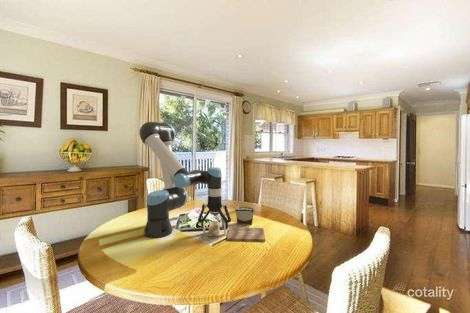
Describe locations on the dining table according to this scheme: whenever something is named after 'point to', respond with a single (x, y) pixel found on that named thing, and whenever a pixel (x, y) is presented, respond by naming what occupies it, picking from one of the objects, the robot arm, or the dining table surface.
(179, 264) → the dining table surface
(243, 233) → the board
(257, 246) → the dining table surface
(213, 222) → the sanding block
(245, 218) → the food container
